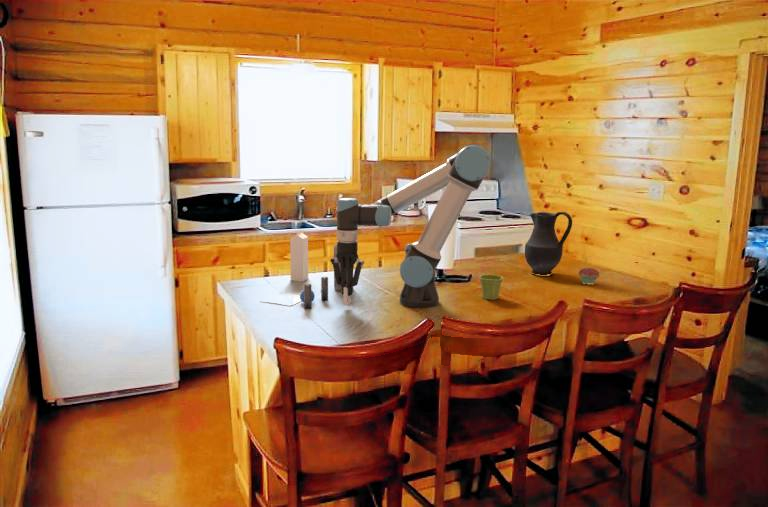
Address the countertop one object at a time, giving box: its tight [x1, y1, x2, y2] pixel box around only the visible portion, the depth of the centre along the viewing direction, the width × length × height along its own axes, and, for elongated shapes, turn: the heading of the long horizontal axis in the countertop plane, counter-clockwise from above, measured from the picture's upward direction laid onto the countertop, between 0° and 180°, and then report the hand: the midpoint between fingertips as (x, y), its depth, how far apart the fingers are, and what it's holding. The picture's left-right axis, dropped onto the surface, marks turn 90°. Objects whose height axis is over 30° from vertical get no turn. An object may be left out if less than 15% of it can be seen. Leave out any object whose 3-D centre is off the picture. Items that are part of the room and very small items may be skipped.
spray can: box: [333, 244, 347, 292], centre depth 253 cm, size 8×8×20 cm
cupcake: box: [578, 258, 600, 284], centre depth 270 cm, size 9×8×12 cm
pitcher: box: [524, 211, 573, 275], centre depth 284 cm, size 17×21×30 cm
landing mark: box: [281, 294, 302, 306], centre depth 239 cm, size 14×14×1 cm
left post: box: [303, 283, 312, 310], centre depth 227 cm, size 3×3×9 cm
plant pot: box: [478, 274, 504, 301], centre depth 245 cm, size 9×9×9 cm
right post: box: [320, 276, 329, 302], centre depth 238 cm, size 3×3×9 cm
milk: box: [289, 228, 309, 282], centre depth 268 cm, size 6×6×22 cm
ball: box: [300, 289, 316, 303], centre depth 234 cm, size 6×6×6 cm
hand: (347, 303), depth 228 cm, fingers closed
